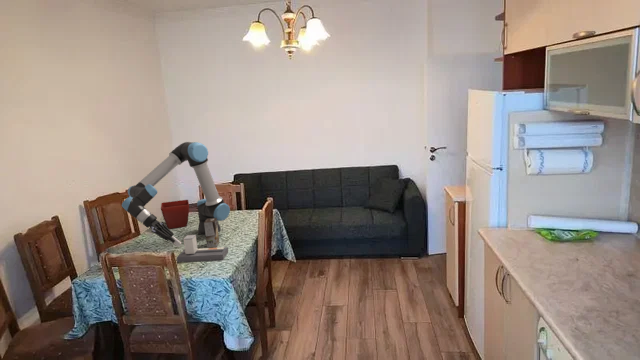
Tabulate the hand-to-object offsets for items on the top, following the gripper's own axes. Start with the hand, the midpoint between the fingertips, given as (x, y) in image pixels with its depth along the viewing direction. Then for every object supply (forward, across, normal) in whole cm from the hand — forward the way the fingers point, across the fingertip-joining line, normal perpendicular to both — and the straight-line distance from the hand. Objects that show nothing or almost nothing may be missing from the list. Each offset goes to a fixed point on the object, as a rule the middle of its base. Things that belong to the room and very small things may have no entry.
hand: (179, 244), depth 241 cm
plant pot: (-14, -68, -25) cm, 74 cm away
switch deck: (+15, 0, +3) cm, 15 cm away
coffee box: (+15, -20, +3) cm, 25 cm away
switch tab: (+8, 0, +1) cm, 8 cm away
